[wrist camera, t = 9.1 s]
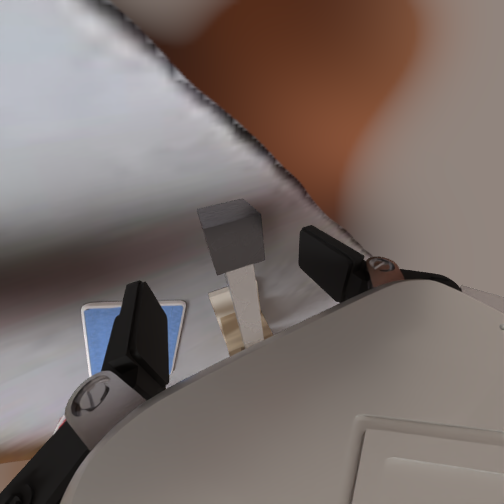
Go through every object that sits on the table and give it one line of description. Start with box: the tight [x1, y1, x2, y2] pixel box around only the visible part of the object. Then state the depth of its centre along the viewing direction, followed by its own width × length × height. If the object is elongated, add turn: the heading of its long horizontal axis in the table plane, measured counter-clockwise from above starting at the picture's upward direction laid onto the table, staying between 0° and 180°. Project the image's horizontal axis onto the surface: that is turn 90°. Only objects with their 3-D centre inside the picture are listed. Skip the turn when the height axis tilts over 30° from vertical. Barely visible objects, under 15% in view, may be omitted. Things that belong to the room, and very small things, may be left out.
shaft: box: [197, 199, 265, 349], centre depth 20 cm, size 24×4×4 cm, turn 7°
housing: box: [208, 279, 273, 356], centre depth 30 cm, size 20×8×13 cm, turn 7°
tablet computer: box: [81, 300, 186, 377], centre depth 29 cm, size 19×13×1 cm, turn 162°
